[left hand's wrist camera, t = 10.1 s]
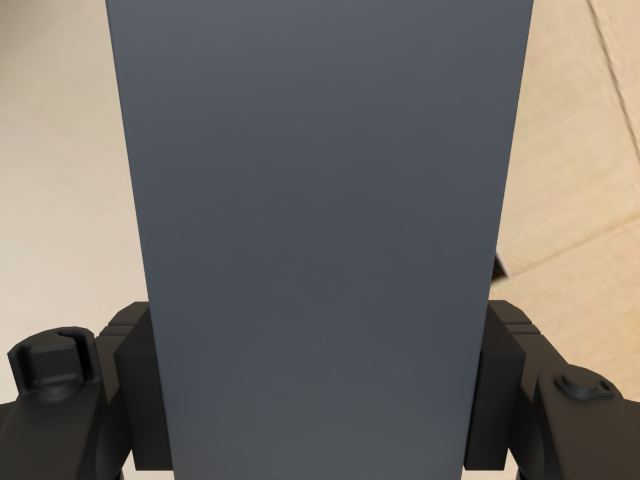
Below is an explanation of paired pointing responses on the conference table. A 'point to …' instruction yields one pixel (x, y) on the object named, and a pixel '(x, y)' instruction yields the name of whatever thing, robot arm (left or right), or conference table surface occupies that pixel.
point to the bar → (318, 224)
